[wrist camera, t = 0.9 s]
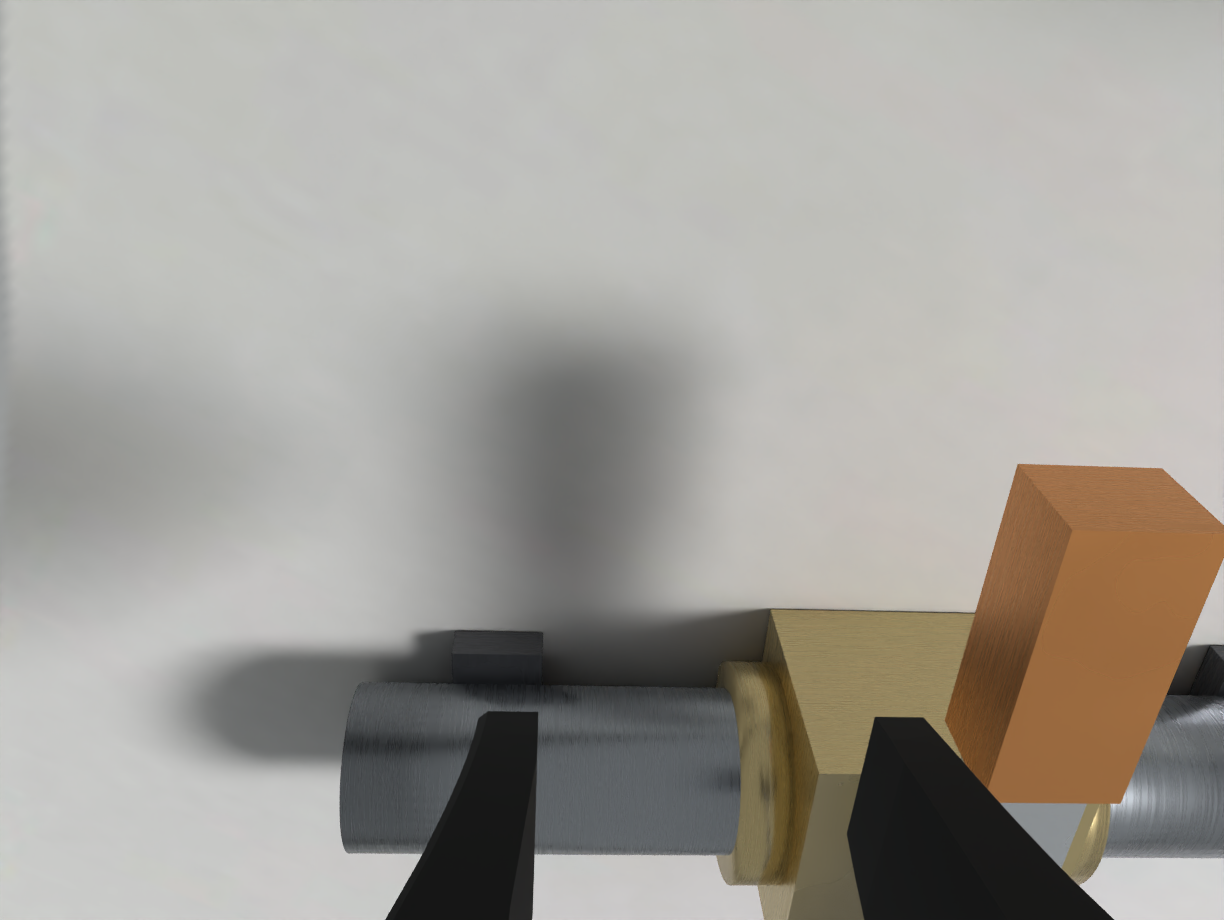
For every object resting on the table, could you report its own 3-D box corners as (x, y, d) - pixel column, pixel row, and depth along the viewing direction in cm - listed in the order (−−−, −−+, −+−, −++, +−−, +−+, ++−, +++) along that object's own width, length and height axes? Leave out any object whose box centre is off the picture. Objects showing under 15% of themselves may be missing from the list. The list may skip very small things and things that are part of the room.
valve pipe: (1278, 790, 27) (1429, 976, 22) (381, 781, 25) (339, 978, 21) (1371, 611, 24) (1567, 781, 19) (367, 590, 23) (314, 768, 18)
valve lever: (986, 938, 20) (1029, 1044, 19) (862, 938, 20) (893, 1045, 18) (1160, 456, 15) (1248, 534, 13) (994, 450, 15) (1058, 529, 13)
